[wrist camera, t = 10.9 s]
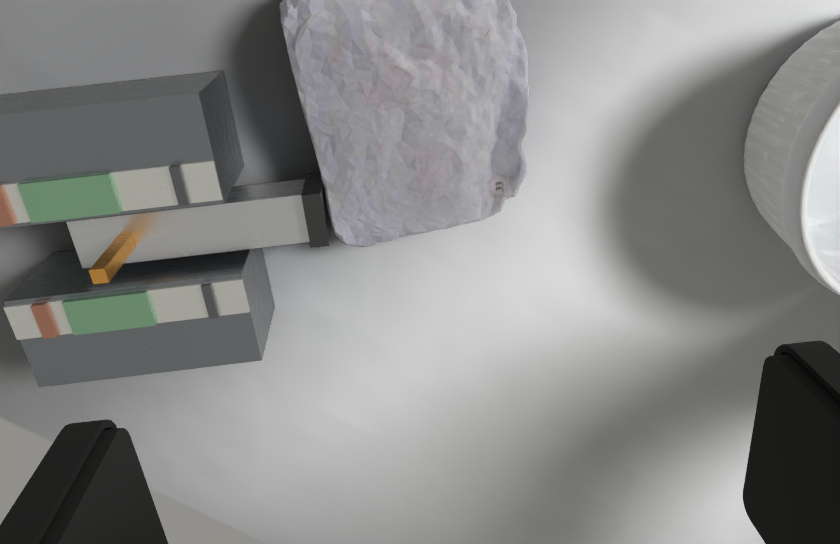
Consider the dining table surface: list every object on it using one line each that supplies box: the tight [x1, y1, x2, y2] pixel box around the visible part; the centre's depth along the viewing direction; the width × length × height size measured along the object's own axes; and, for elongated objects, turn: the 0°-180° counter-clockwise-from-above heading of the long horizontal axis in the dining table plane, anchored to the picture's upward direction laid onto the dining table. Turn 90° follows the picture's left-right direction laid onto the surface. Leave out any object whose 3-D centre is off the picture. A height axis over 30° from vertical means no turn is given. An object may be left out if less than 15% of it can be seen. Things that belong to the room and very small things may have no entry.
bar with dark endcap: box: [66, 172, 331, 284], centre depth 29 cm, size 11×2×6 cm, turn 95°
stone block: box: [280, 0, 529, 247], centre depth 30 cm, size 12×5×10 cm
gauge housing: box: [0, 70, 275, 387], centre depth 30 cm, size 10×12×5 cm
